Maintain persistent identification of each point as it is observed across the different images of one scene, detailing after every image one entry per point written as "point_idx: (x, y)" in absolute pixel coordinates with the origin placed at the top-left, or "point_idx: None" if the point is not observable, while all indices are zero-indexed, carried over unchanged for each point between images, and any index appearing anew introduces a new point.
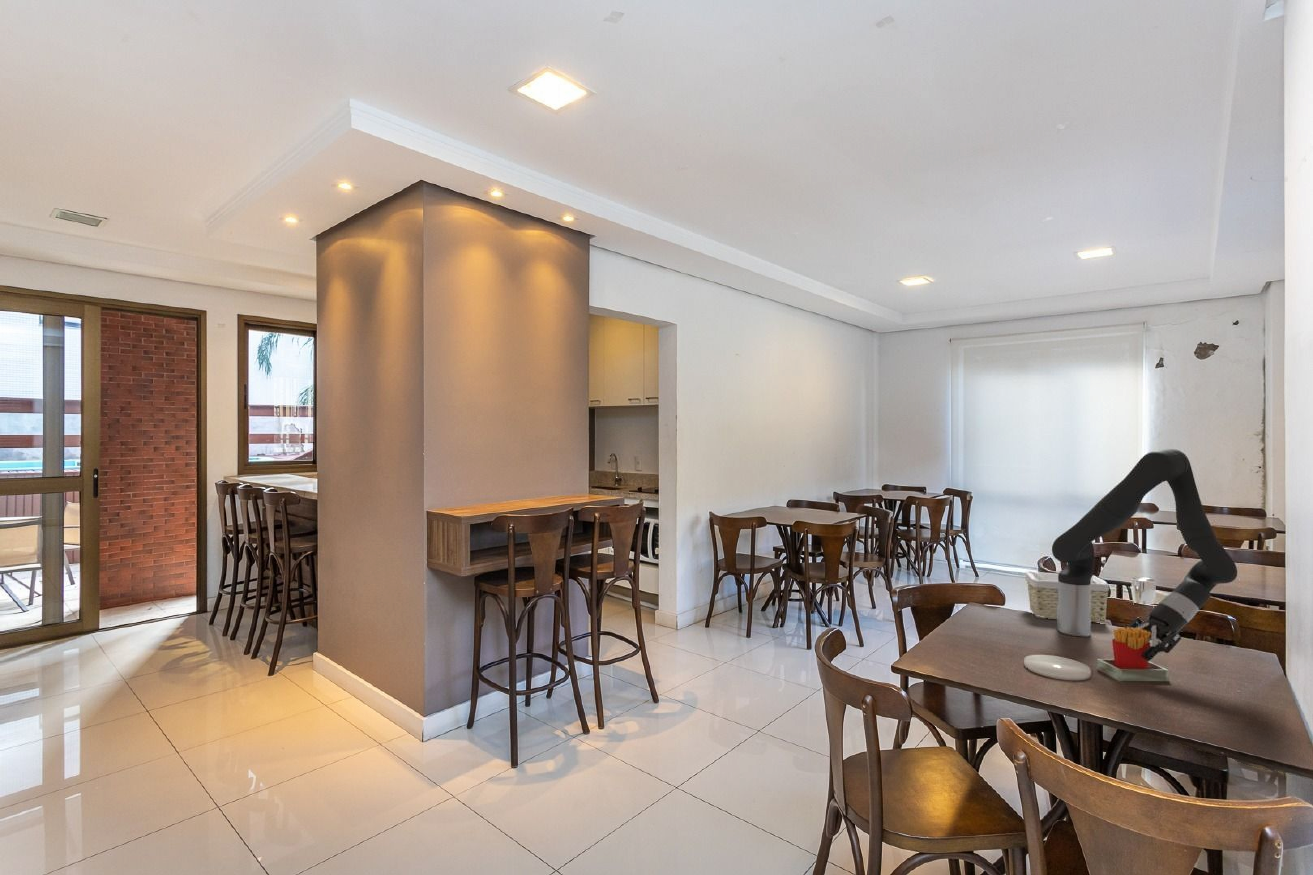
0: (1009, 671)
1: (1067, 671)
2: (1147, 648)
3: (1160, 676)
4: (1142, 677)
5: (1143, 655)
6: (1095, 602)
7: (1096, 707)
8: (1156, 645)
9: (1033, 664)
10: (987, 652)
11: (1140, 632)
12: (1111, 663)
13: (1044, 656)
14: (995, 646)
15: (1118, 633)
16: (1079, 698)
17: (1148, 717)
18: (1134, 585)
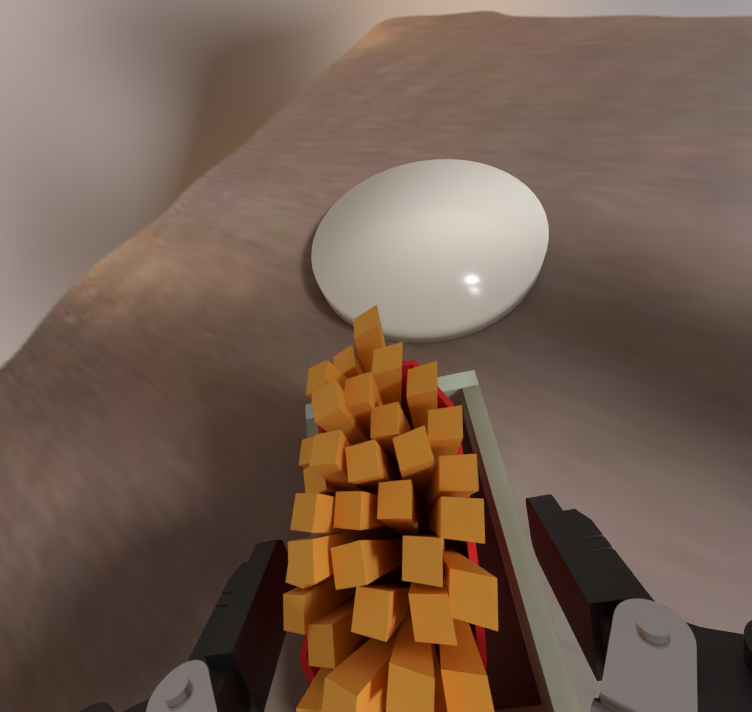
0: (377, 145)
1: (345, 246)
2: (248, 609)
3: None
4: None
5: (259, 546)
6: None
7: (128, 268)
8: (153, 704)
9: (403, 175)
10: (557, 109)
11: (360, 669)
12: (477, 451)
13: (519, 213)
14: (659, 124)
15: (350, 356)
16: (184, 249)
17: (40, 365)
18: None
